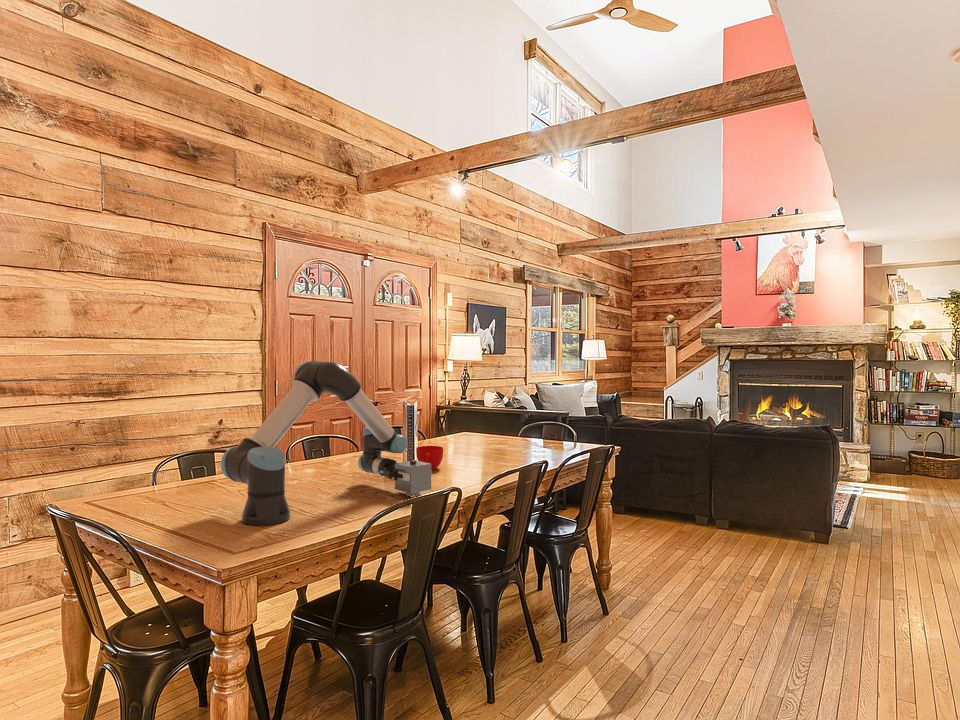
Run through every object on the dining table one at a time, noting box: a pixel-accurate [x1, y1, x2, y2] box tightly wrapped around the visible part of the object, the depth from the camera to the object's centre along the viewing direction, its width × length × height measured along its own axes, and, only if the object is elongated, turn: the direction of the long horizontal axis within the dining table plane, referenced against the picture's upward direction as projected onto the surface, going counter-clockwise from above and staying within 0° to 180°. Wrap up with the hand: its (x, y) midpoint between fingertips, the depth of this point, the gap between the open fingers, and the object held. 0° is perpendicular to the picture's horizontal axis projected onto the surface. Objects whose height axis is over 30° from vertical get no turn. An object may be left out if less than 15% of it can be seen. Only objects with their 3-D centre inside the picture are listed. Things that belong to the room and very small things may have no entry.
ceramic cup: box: [415, 445, 444, 471], centre depth 288 cm, size 13×17×10 cm
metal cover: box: [394, 459, 432, 493], centre depth 236 cm, size 10×10×11 cm
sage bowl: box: [405, 492, 421, 497], centre depth 236 cm, size 6×6×4 cm
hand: (420, 475), depth 233 cm, fingers closed on metal cover, 10 cm apart
